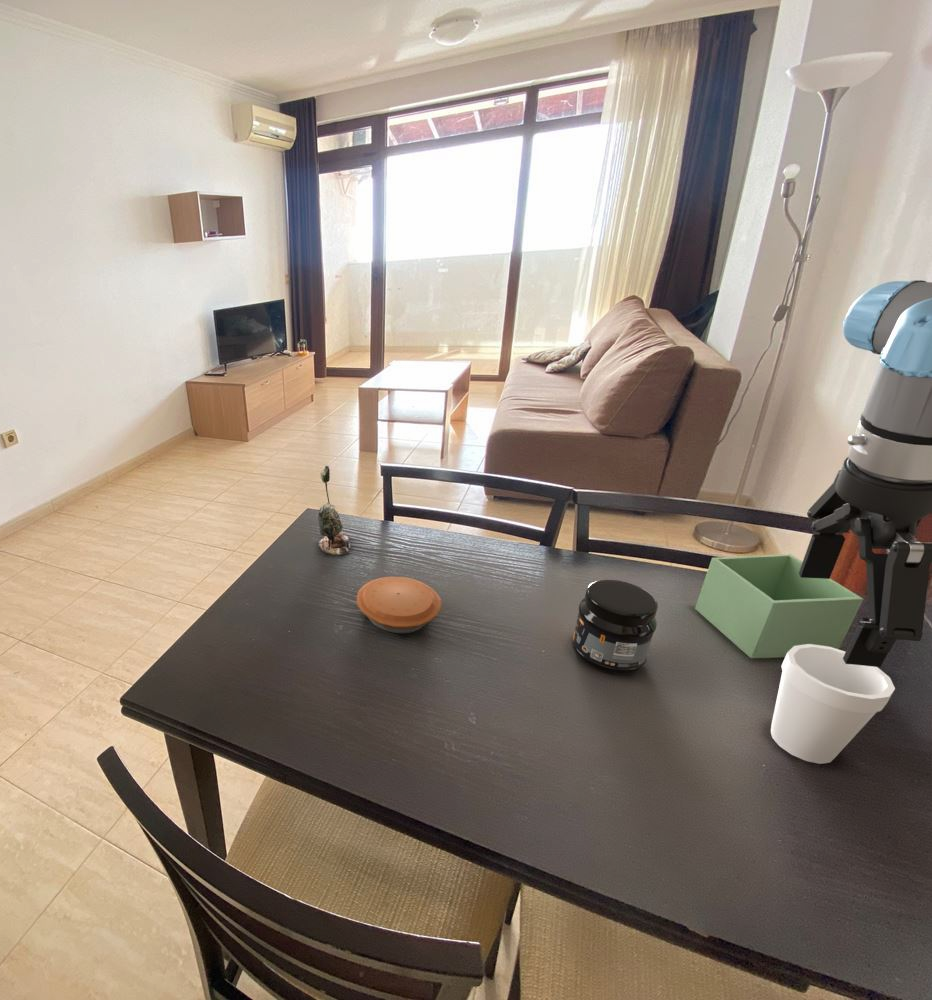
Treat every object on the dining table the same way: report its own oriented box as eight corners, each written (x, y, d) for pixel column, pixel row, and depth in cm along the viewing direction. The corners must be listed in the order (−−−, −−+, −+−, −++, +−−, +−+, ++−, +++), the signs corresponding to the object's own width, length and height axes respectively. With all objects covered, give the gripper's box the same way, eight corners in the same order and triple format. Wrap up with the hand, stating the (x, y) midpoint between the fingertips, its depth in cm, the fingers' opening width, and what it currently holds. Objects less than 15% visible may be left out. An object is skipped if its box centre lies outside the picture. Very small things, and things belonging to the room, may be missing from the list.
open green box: (769, 605, 97) (790, 553, 93) (836, 655, 86) (863, 599, 81) (694, 608, 98) (711, 557, 93) (750, 658, 86) (773, 602, 82)
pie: (369, 585, 112) (369, 564, 110) (446, 600, 106) (447, 579, 104) (346, 630, 100) (345, 608, 98) (431, 650, 93) (433, 627, 91)
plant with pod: (308, 557, 124) (304, 477, 115) (325, 534, 133) (323, 459, 124) (342, 563, 121) (340, 482, 112) (357, 539, 130) (357, 462, 121)
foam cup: (773, 705, 78) (805, 634, 72) (862, 750, 71) (905, 675, 65) (743, 736, 74) (775, 664, 68) (834, 787, 66) (878, 711, 61)
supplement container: (597, 627, 96) (611, 570, 90) (659, 663, 87) (678, 602, 82) (556, 647, 92) (568, 589, 87) (616, 687, 83) (633, 625, 78)
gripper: (802, 407, 63) (761, 545, 74) (911, 546, 45) (835, 701, 56) (893, 402, 59) (836, 548, 70) (1050, 550, 41) (940, 714, 52)
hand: (835, 616), depth 63 cm, fingers open, 13 cm apart
